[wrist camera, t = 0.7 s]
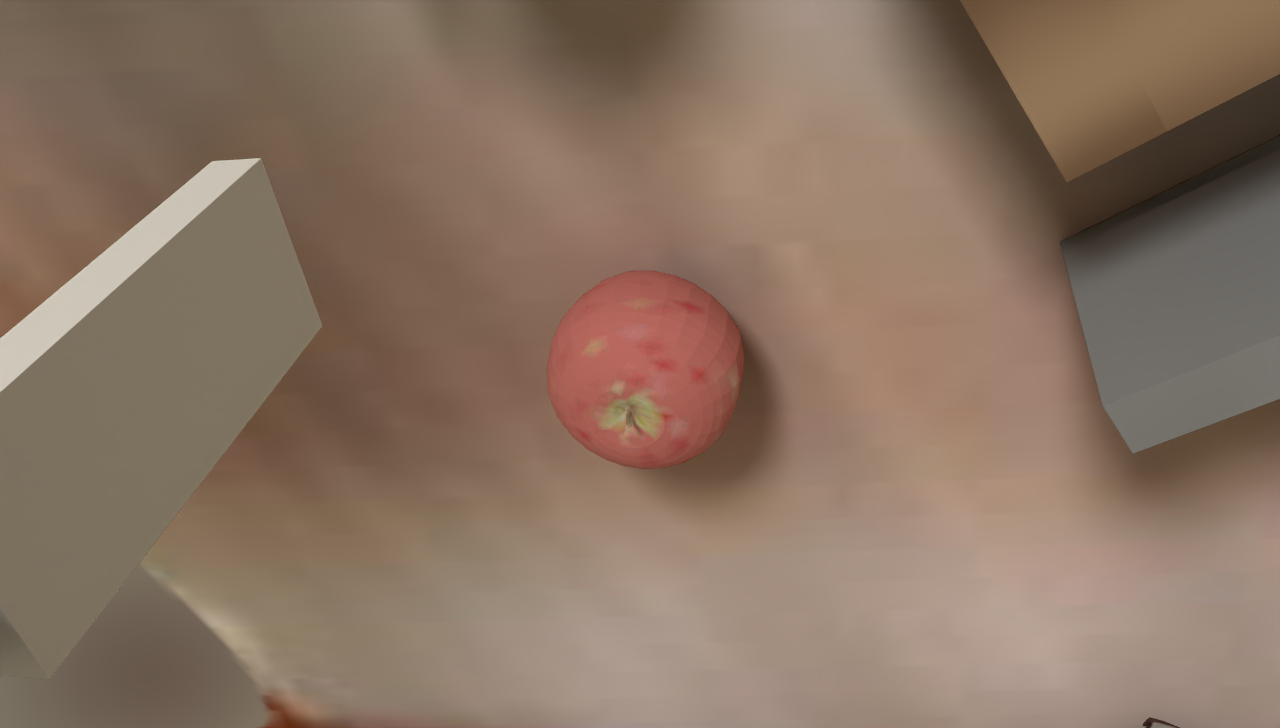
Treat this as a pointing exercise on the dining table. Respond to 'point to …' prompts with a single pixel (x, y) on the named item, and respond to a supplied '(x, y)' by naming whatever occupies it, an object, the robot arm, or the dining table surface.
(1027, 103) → the block
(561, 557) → the dining table surface
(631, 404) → the apple
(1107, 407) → the wall
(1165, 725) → the book
